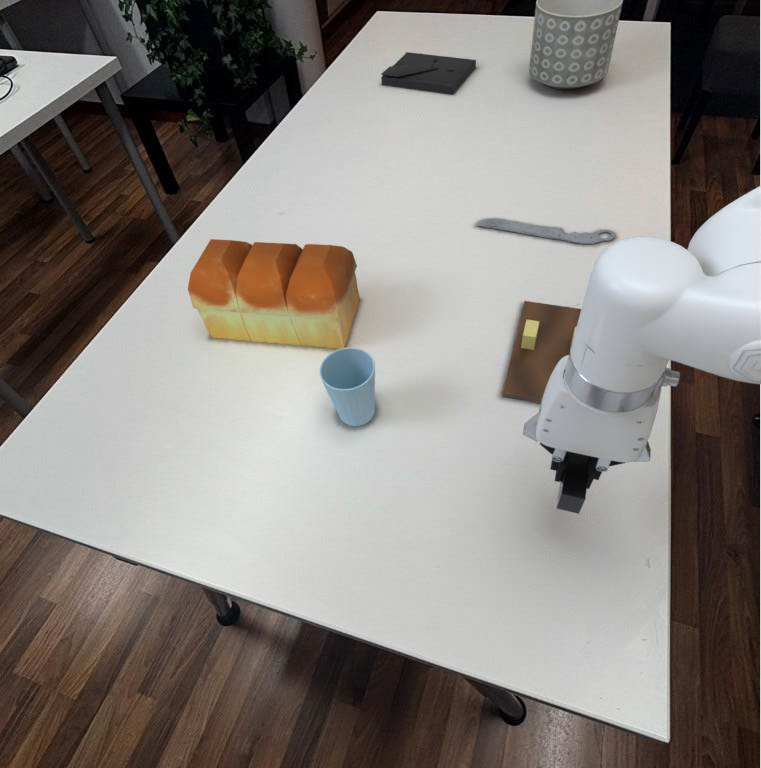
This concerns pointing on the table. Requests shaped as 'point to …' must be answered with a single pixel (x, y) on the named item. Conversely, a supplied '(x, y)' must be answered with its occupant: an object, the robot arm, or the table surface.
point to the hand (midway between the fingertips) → (573, 473)
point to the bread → (276, 292)
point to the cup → (350, 384)
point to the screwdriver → (574, 483)
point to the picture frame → (428, 73)
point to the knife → (544, 231)
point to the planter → (573, 41)
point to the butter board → (539, 350)
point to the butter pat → (530, 334)
